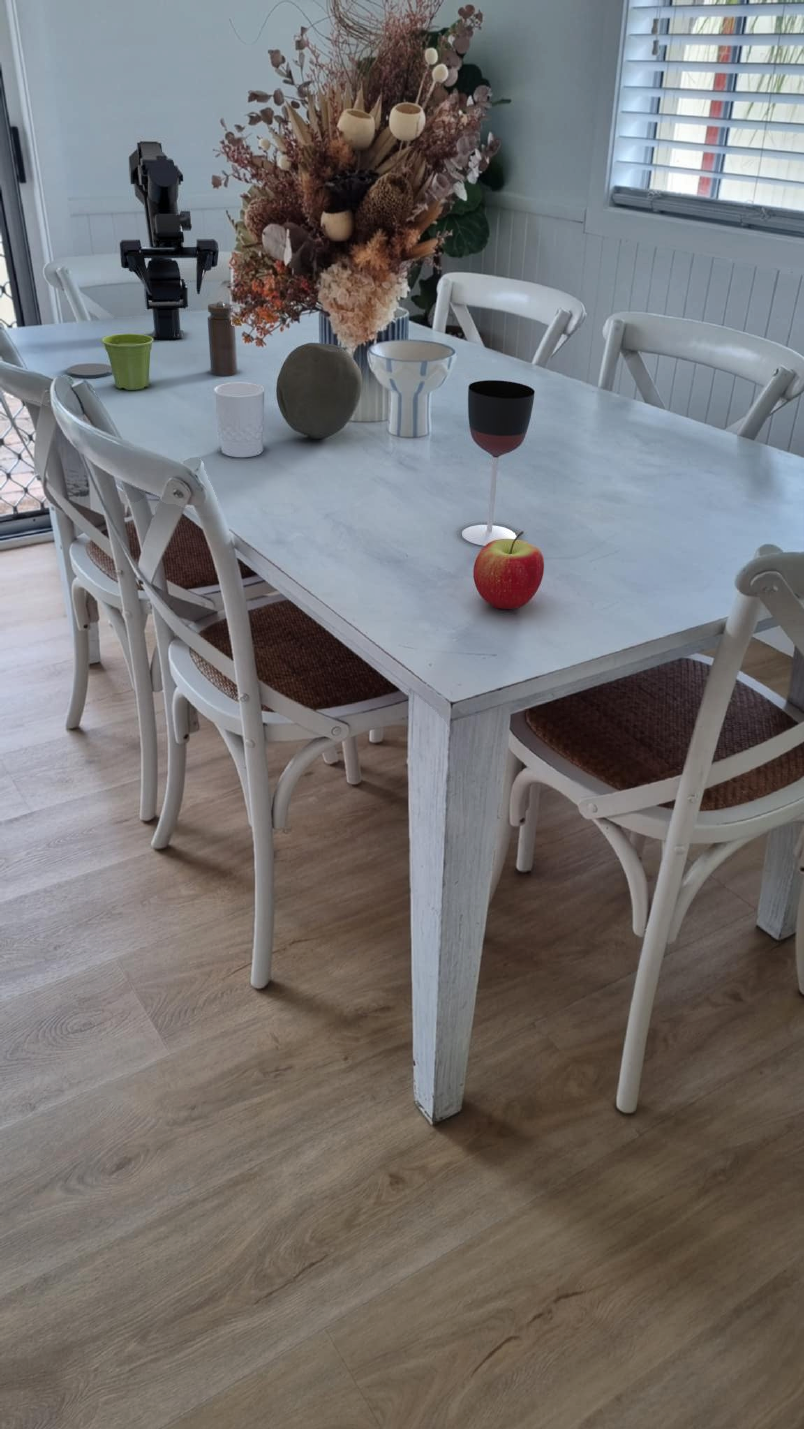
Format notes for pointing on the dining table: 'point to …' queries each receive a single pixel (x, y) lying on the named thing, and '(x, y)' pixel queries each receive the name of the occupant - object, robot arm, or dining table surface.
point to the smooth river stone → (318, 389)
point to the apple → (508, 572)
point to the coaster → (89, 370)
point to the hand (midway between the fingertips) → (174, 293)
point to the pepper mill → (222, 340)
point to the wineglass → (497, 437)
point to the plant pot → (129, 359)
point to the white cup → (240, 418)
